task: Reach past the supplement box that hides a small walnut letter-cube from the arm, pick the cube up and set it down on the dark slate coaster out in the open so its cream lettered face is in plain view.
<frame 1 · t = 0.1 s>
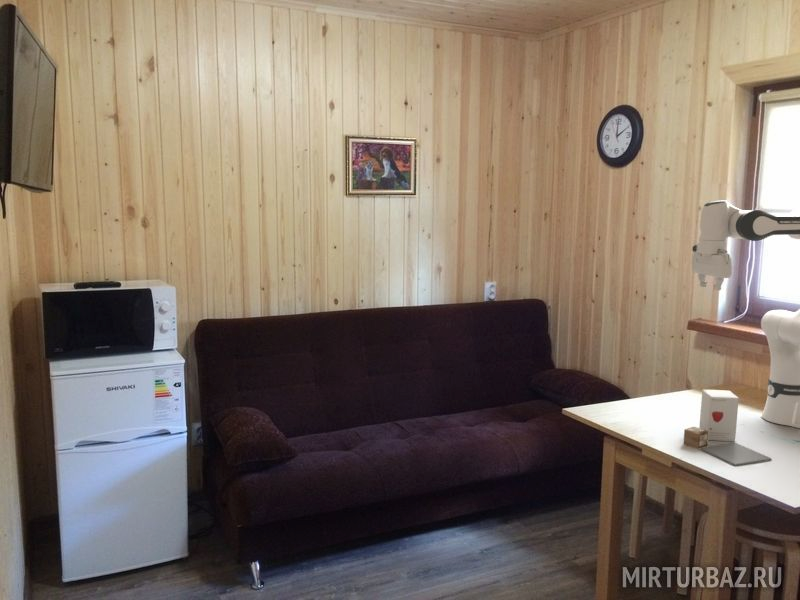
hand: (709, 288, 227), 48 cm above the table, fingers open, 8 cm apart
letter cube: (695, 445, 212), on the table
supplement box: (716, 437, 219), on the table
coaster: (734, 454, 203), on the table
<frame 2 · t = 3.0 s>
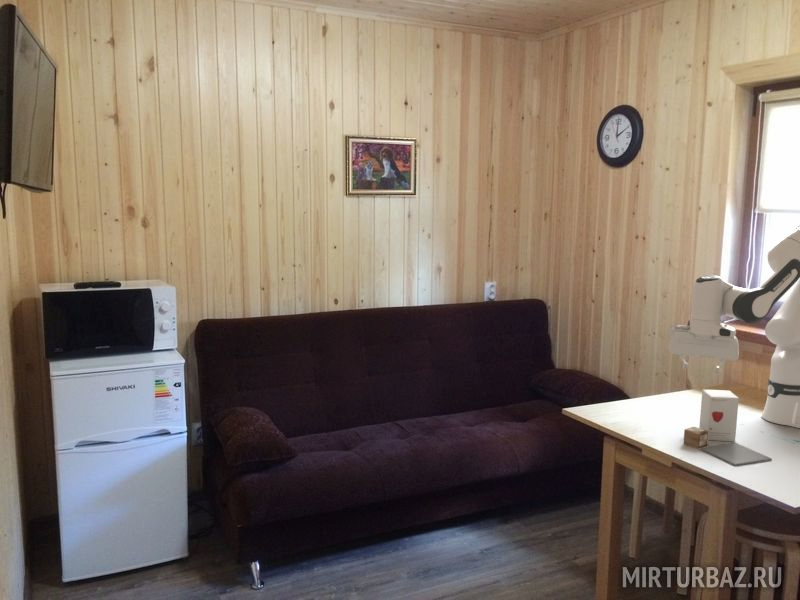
hand: (701, 370, 208), 25 cm above the table, fingers open, 8 cm apart
nothing on the table moved.
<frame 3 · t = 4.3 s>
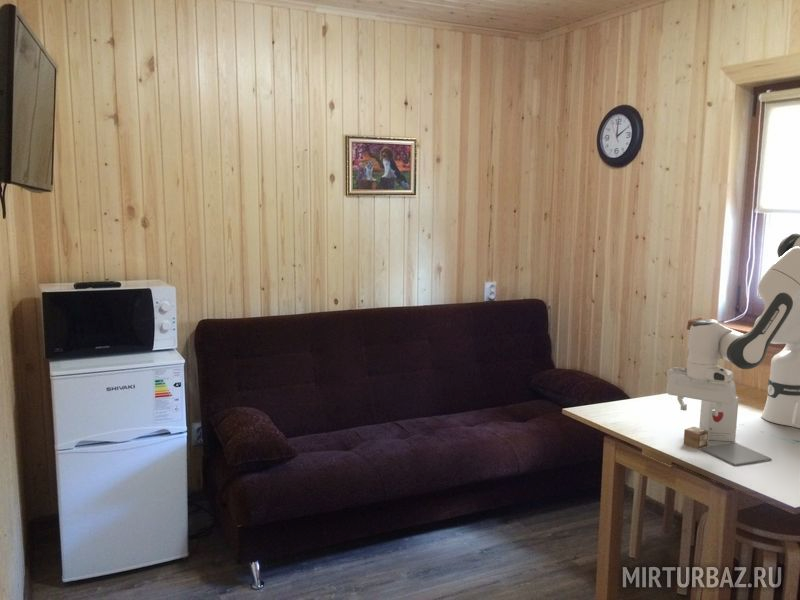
hand: (699, 412, 209), 11 cm above the table, fingers open, 8 cm apart
nothing on the table moved.
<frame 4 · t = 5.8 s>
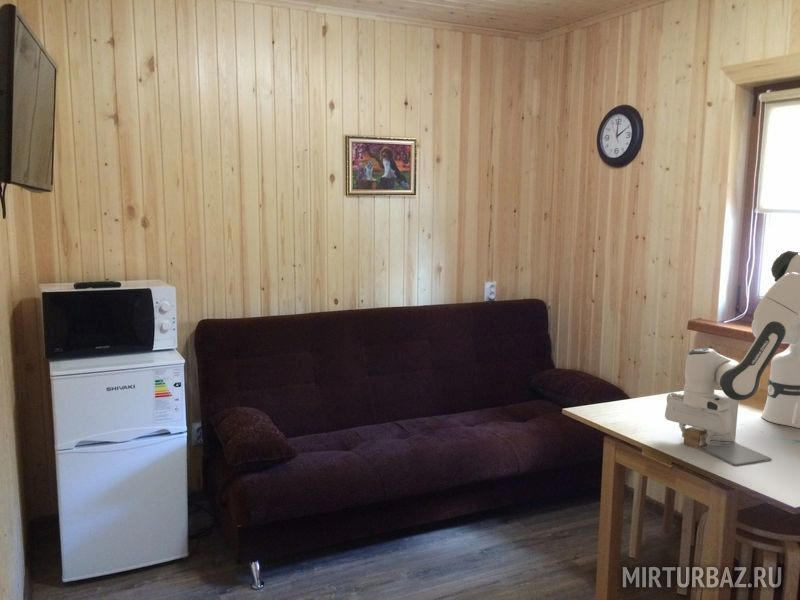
hand: (695, 439, 211), 2 cm above the table, fingers closed on letter cube, 5 cm apart
letter cube: (695, 444, 212), on the table, touching gripper
everything else where it was.
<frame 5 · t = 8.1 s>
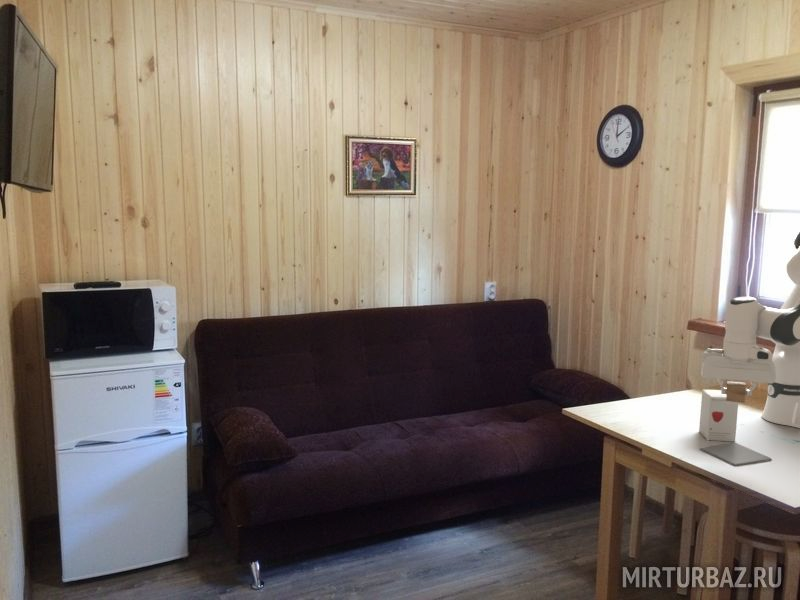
hand: (736, 394, 201), 19 cm above the table, fingers closed on letter cube, 5 cm apart
letter cube: (735, 399, 201), point 17 cm above the table, touching gripper
everything else where it was.
when the fingers open (3 cm above the table, at t = 10.5 s): letter cube stays where it is, resting on coaster.
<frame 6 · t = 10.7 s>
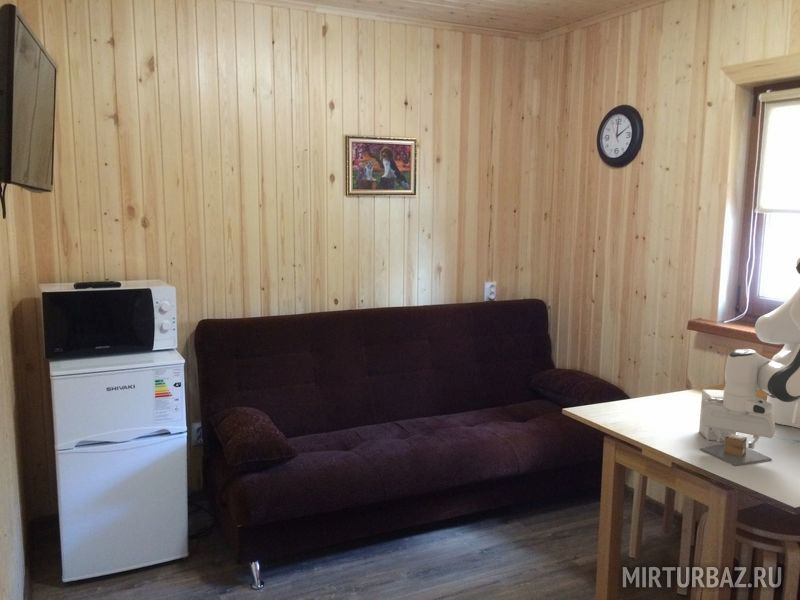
hand: (735, 445, 203), 3 cm above the table, fingers open, 7 cm apart
letter cube: (734, 452, 203), point 1 cm above the table, touching coaster
everything else where it was.
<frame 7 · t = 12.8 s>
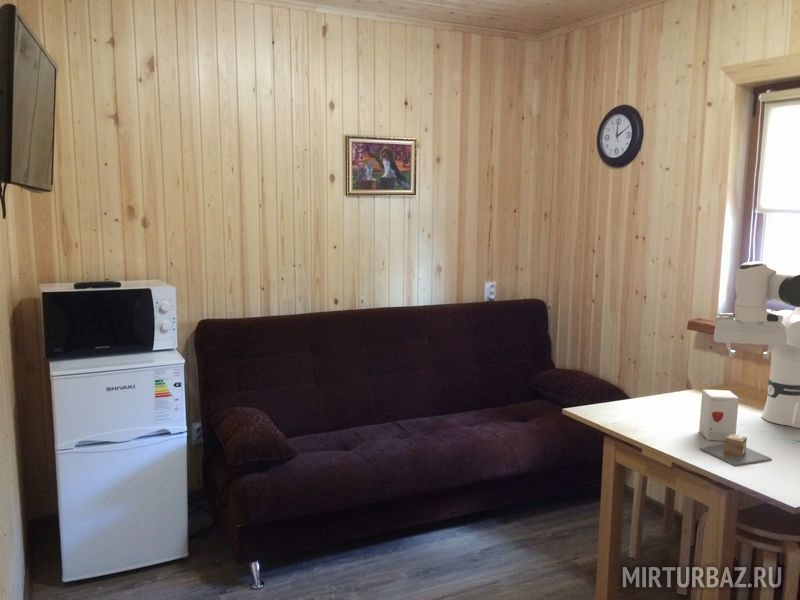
hand: (748, 357, 206), 29 cm above the table, fingers open, 8 cm apart
nothing on the table moved.
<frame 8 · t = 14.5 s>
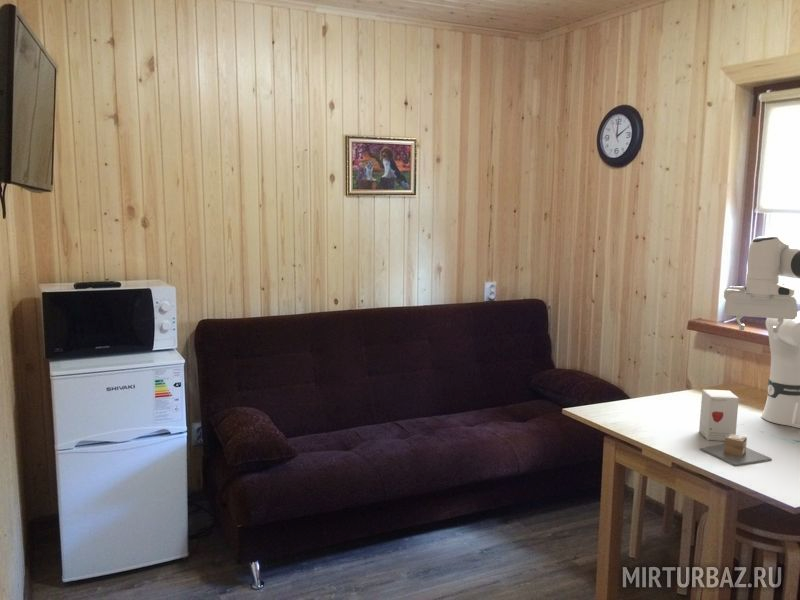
hand: (758, 331, 207), 37 cm above the table, fingers open, 8 cm apart
nothing on the table moved.
at the end: letter cube inside the target area on the coaster (0.1 cm from its centre), point 0.6 cm above the coaster's base; letter cube tilted 0°; supplement box moved 0.3 cm from its start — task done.
